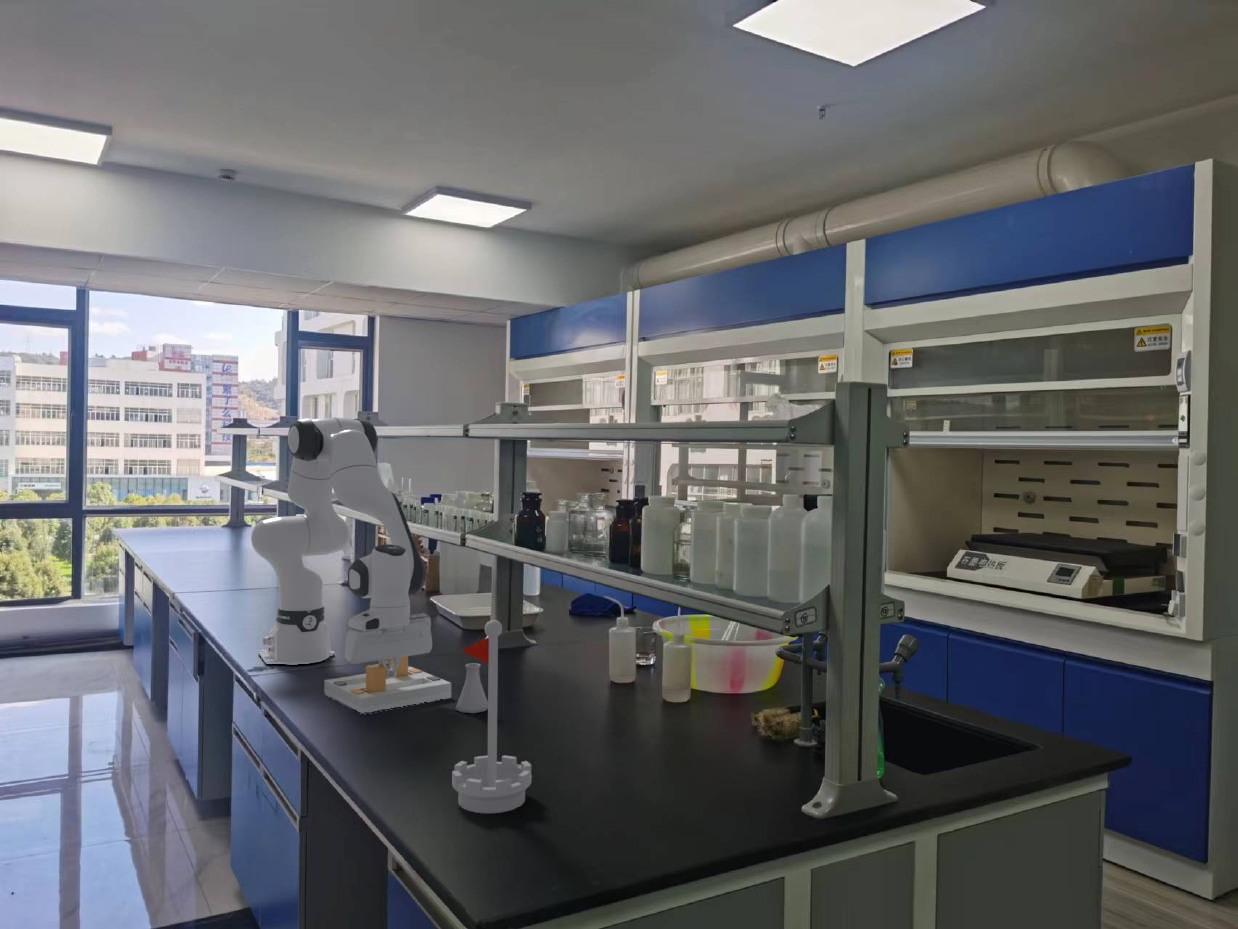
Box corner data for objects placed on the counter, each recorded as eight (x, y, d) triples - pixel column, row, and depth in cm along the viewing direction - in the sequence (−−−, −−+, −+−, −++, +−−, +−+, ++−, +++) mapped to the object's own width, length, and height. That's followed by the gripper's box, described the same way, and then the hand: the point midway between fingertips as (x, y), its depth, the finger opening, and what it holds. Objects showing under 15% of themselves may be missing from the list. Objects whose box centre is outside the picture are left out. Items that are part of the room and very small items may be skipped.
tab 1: (363, 695, 208) (363, 666, 208) (380, 693, 211) (380, 663, 211) (371, 699, 205) (371, 669, 205) (387, 696, 208) (387, 666, 208)
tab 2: (387, 680, 222) (387, 652, 221) (402, 678, 224) (402, 650, 224) (394, 684, 219) (394, 655, 218) (409, 681, 221) (410, 653, 221)
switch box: (324, 695, 215) (324, 678, 215) (410, 680, 229) (410, 665, 229) (361, 714, 200) (361, 697, 200) (451, 697, 214) (451, 681, 214)
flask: (469, 703, 210) (470, 659, 210) (495, 708, 207) (496, 663, 206) (449, 711, 204) (449, 665, 204) (475, 716, 200) (475, 670, 200)
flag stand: (533, 785, 160) (535, 613, 159) (528, 816, 147) (530, 628, 146) (457, 785, 160) (459, 612, 159) (446, 816, 147) (447, 627, 146)
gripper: (424, 610, 219) (423, 668, 219) (341, 620, 206) (341, 681, 206) (437, 614, 214) (437, 673, 215) (354, 624, 201) (354, 687, 201)
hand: (389, 677), depth 210 cm, fingers closed
